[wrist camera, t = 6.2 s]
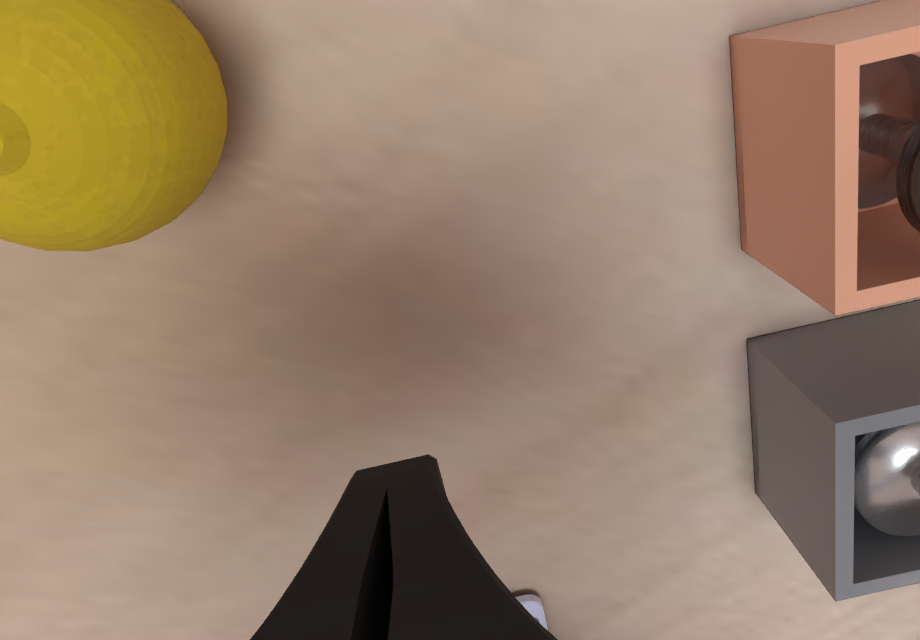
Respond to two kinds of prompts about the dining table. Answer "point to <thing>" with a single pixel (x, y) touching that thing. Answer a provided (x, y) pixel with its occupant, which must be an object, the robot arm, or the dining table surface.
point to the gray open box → (834, 438)
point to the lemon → (103, 120)
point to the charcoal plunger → (889, 479)
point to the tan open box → (820, 156)
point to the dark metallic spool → (890, 135)
